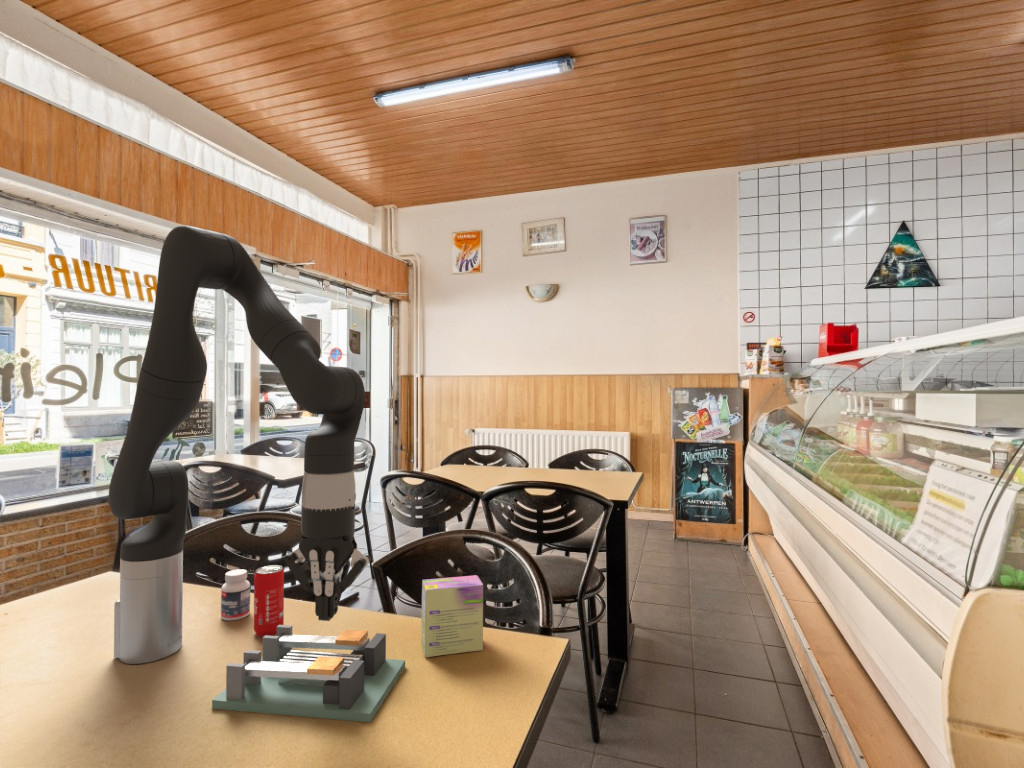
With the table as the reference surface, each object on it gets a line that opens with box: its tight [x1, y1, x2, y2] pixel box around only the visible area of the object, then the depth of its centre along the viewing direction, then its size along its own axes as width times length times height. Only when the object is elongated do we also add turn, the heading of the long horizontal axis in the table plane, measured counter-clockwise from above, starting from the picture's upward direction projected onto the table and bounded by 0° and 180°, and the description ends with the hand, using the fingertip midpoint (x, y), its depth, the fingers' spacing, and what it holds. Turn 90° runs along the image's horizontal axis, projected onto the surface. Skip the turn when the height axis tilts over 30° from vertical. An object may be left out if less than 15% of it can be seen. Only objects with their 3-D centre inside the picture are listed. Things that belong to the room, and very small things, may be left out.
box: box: [420, 574, 484, 658], centre depth 97 cm, size 10×6×12 cm, turn 106°
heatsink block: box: [278, 649, 363, 687], centre depth 84 cm, size 12×4×3 cm, turn 83°
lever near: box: [244, 656, 346, 680], centre depth 80 cm, size 16×4×2 cm, turn 83°
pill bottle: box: [220, 568, 251, 622], centre depth 110 cm, size 5×5×9 cm
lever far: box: [278, 629, 371, 651], centre depth 89 cm, size 16×4×2 cm, turn 83°
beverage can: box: [253, 564, 285, 638], centre depth 103 cm, size 5×5×12 cm
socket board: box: [211, 624, 406, 723], centre depth 84 cm, size 24×15×6 cm, turn 83°
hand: (326, 618), depth 80 cm, fingers closed
